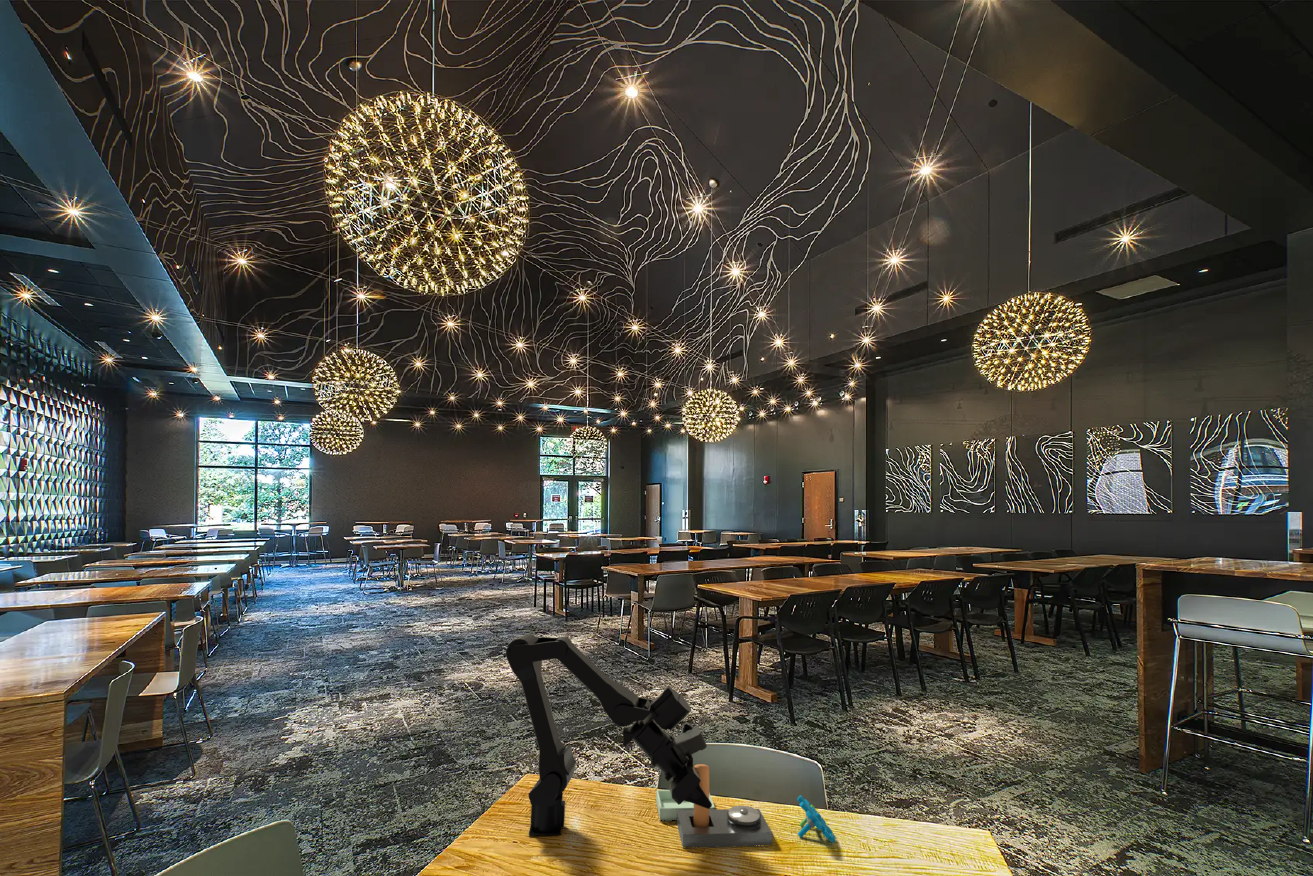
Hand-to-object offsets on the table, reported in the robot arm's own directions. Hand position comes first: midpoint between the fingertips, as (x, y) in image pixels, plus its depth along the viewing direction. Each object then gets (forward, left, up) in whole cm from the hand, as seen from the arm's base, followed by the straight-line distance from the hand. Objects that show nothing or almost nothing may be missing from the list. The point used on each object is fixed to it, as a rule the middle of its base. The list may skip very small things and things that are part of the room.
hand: (708, 800), depth 124 cm
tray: (-3, +10, -7) cm, 13 cm away
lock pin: (-1, 0, -7) cm, 7 cm away
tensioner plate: (+3, 0, -7) cm, 7 cm away
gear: (+22, -2, -7) cm, 23 cm away
